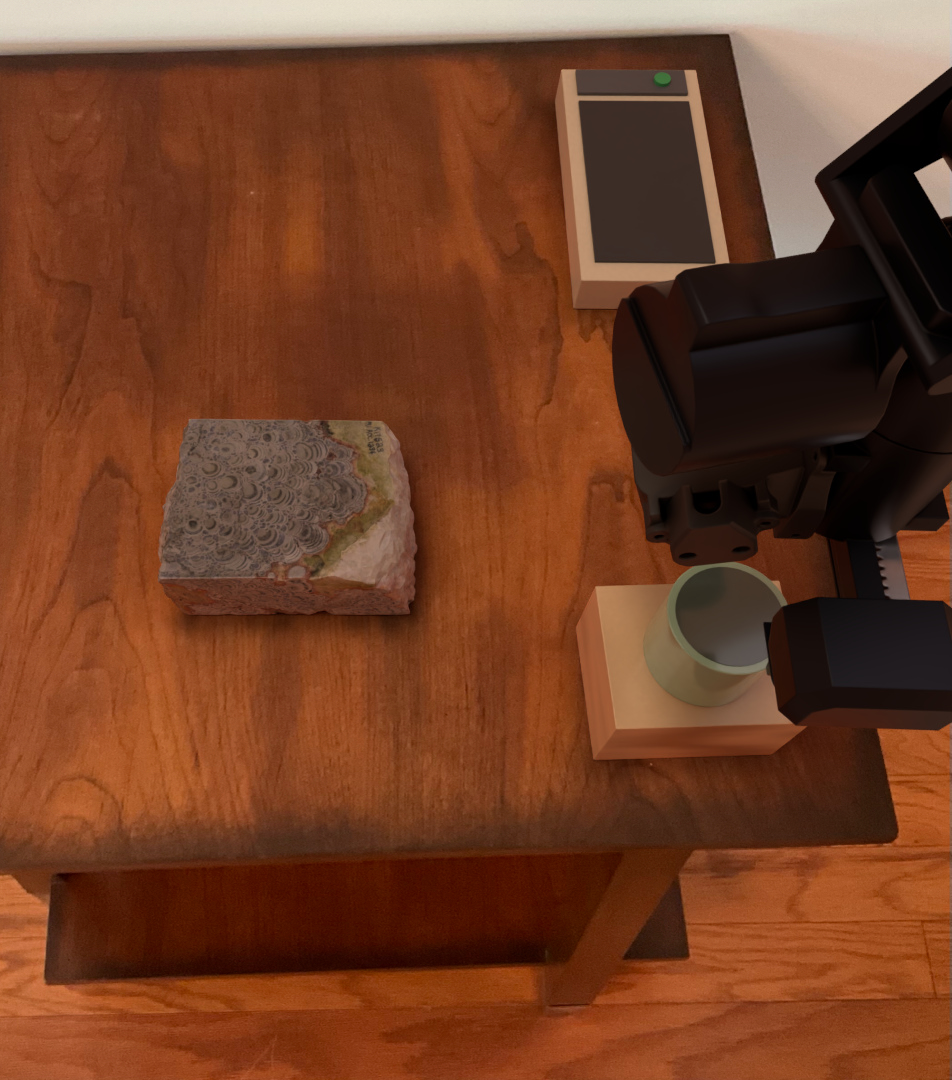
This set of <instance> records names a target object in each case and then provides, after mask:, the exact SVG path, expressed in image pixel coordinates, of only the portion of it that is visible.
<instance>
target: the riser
mask: <svg viewBox="0 0 952 1080" xmlns="http://www.w3.org/2000/svg"><path fill="white" fill-rule="evenodd" d="M771 581H772V582H773V583H774V584H775V585H776V587H777V588H778V589H779V590H780V592H781V593H782V594H783V591H782V587H781V583H780V580H771ZM673 584H674V583H660V584H659V583H658V584H657V583H656V584H655V583H654V584H628V585H625V584H623V585H622V584H621V585H596V586H595V587H594V589H593V590H592V593H591V594H590V597H589V599H588V601H587V603H586V604H585V607H584V609H583V611H582V613H581V615H580V618H579V620H578V622H577V624H576V626H575V633H576V641H577V647H578V656H579V663H580V670H581V677H582V678H581V679H582V686H583V691H584V692H583V693H584V700H585V708H586V715H587V723H588V731H589V737H590V745H591V753H592V759H593V761H607V760H611V761H613V760H638V759H640V760H641V759H666V758H667V759H670V758H671V759H673V758H697V757H698V758H704V757H706V758H707V757H734V756H738V757H739V756H766V755H769V756H770V755H773V754H774V753H776V752H777V751H778V750H779V749H781V748H782V747H783V746H784V745H786V744H787V743H788V742H790V741H791V740H792V739H793V738H795V737H796V736H797V735H799V734H800V733H801V732H802V731H803V730H805V729H806V728H807V727H808V726H795V725H794V724H793V723H792V722H791V721H790V720H788V719H787V718H786V717H785V716H784V715H783V714H782V713H780V712H779V711H778V707H777V700H776V694H775V687H774V685H773V683H772V681H771V676H768V675H767V673H765V674H764V675H763V676H762V677H761V678H760V679H759V680H758V681H757V682H756V683H755V684H754V685H753V686H752V687H751V688H750V689H749V690H748V691H747V692H746V693H745V694H744V695H743V696H741V697H740V698H739V699H737V700H735V701H733V702H731V703H729V704H726V705H722V706H715V707H703V706H696V705H692V704H689V703H686V702H684V701H681V700H679V699H677V698H675V697H674V696H672V695H671V694H669V693H668V692H667V691H666V690H664V689H663V688H662V687H661V686H660V685H659V684H658V683H657V681H656V680H655V679H654V677H653V676H652V674H651V672H650V671H649V669H648V666H647V664H646V661H645V657H644V652H643V639H644V634H645V631H646V628H647V626H648V624H649V622H650V620H651V619H652V617H653V616H654V614H655V612H656V611H657V609H658V608H659V606H660V605H661V603H662V601H663V600H664V598H665V597H666V595H667V594H668V592H669V590H670V589H671V587H672V586H673Z"/></svg>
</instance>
